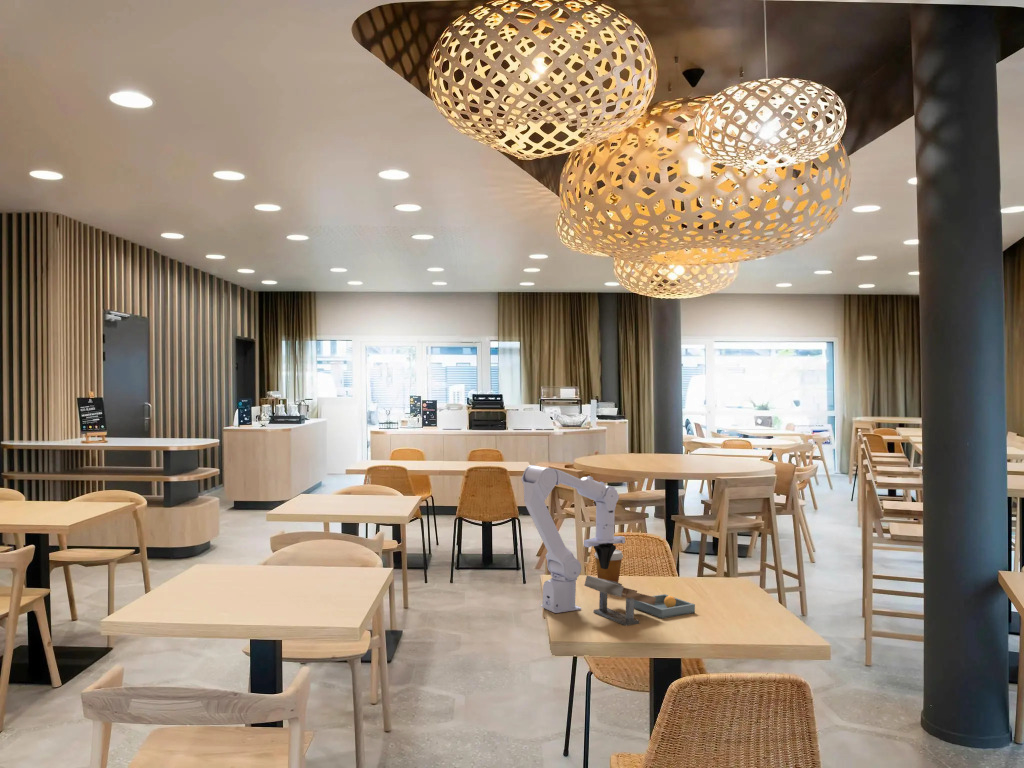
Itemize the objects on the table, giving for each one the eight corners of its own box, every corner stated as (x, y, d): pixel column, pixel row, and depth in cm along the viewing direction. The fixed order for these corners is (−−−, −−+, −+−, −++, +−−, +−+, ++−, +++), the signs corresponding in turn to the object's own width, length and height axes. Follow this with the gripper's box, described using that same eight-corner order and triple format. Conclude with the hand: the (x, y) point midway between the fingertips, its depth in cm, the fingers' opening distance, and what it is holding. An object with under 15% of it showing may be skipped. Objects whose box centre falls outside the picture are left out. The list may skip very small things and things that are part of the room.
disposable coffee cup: (621, 592, 255) (622, 555, 255) (592, 589, 257) (593, 553, 257) (623, 585, 264) (624, 549, 264) (595, 583, 266) (595, 547, 266)
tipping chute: (603, 593, 217) (606, 582, 218) (567, 579, 232) (570, 569, 232) (654, 605, 227) (656, 594, 228) (617, 591, 242) (619, 581, 242)
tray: (661, 618, 226) (661, 609, 226) (632, 607, 237) (632, 599, 237) (694, 612, 233) (694, 604, 233) (664, 602, 244) (664, 594, 244)
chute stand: (625, 625, 218) (626, 600, 218) (593, 612, 230) (594, 588, 230) (639, 623, 221) (639, 598, 221) (607, 610, 233) (607, 586, 233)
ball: (680, 602, 236) (673, 611, 235) (672, 599, 239) (665, 608, 238) (674, 594, 235) (667, 603, 233) (666, 592, 238) (659, 600, 236)
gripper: (594, 528, 235) (593, 573, 235) (631, 524, 242) (631, 568, 242) (580, 524, 241) (579, 568, 241) (617, 520, 249) (616, 563, 248)
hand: (604, 568), depth 242 cm, fingers closed
